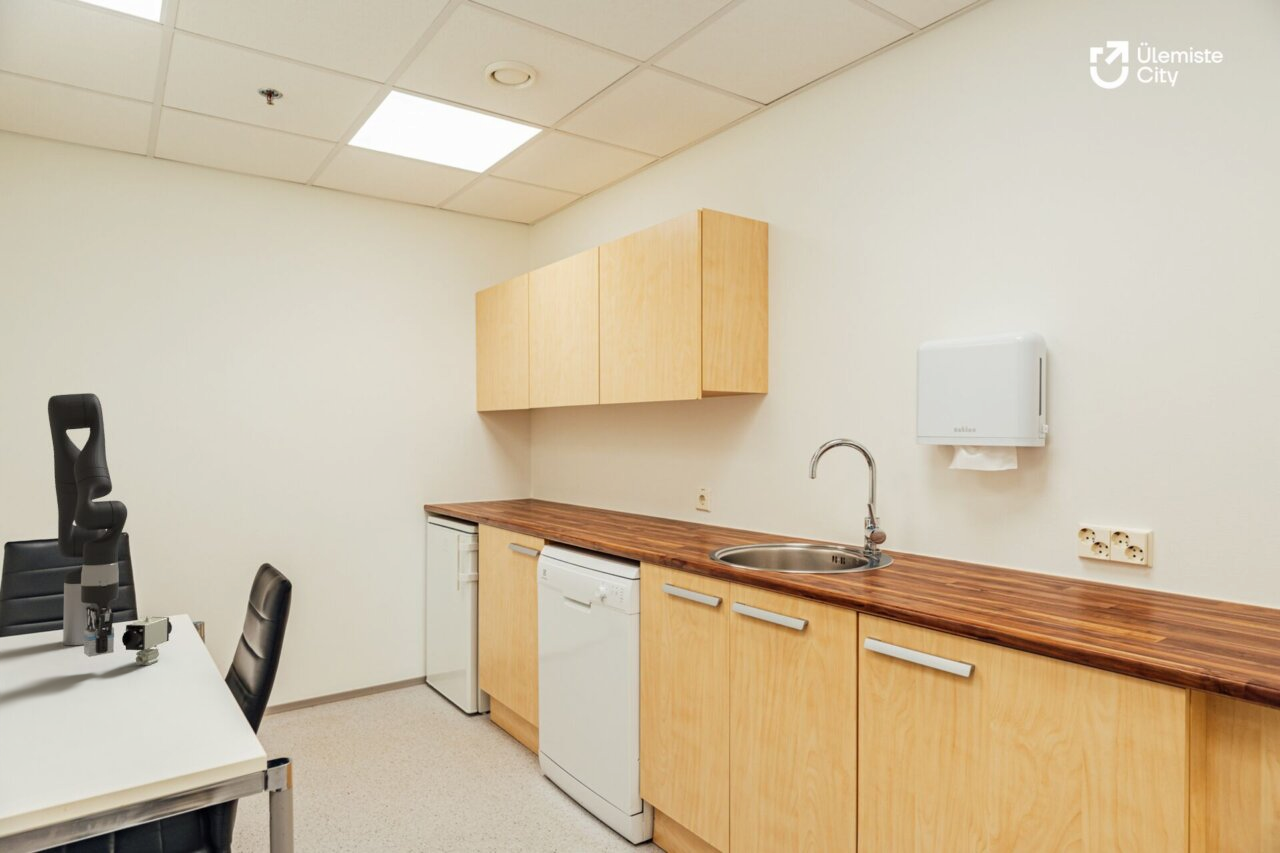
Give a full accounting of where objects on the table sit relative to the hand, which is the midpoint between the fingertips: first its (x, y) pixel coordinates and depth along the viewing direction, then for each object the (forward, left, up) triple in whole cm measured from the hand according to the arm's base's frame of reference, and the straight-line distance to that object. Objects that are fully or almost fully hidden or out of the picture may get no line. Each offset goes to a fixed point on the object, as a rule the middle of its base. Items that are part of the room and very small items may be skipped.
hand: (98, 650), depth 182 cm
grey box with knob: (0, 0, -1) cm, 1 cm away
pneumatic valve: (0, +10, -6) cm, 12 cm away
